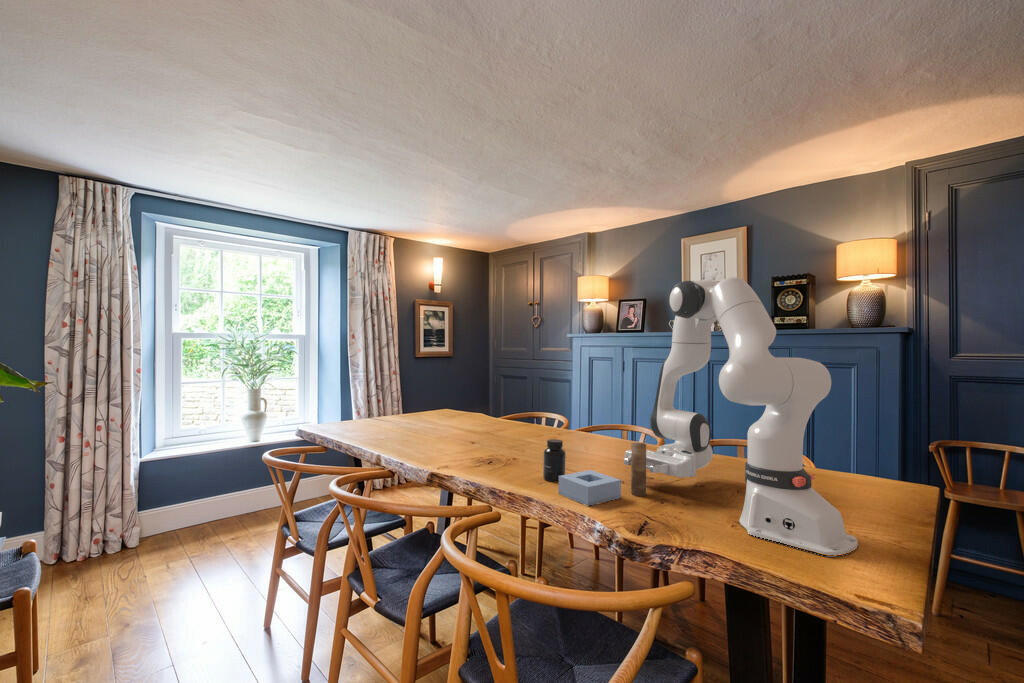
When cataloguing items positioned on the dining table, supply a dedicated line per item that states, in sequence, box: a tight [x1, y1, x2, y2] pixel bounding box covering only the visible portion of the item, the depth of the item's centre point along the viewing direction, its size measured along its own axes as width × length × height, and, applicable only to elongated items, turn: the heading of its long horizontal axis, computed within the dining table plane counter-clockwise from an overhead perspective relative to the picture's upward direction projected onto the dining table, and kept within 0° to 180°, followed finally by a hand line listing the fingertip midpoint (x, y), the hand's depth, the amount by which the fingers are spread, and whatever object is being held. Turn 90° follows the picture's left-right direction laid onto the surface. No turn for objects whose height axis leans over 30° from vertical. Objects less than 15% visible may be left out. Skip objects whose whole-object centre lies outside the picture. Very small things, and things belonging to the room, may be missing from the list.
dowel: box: [630, 442, 647, 497], centre depth 129 cm, size 4×4×14 cm
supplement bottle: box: [542, 438, 567, 482], centre depth 143 cm, size 7×7×12 cm
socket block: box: [558, 469, 622, 507], centre depth 127 cm, size 12×12×5 cm
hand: (638, 465), depth 129 cm, fingers open, 8 cm apart
